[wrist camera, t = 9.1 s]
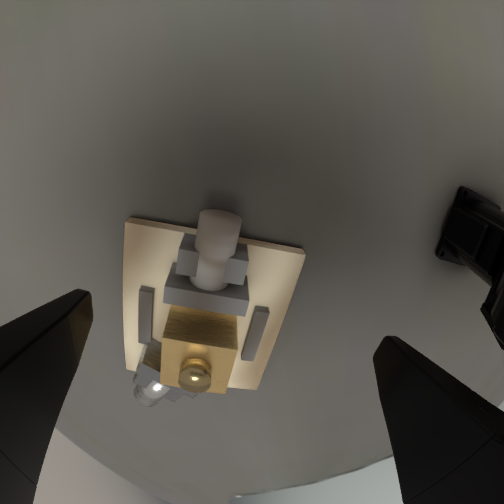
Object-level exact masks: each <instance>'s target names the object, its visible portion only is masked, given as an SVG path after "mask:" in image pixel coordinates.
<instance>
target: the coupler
mask: <svg viewBox="0 0 504 504" xmlns="http://www.w3.org/2000/svg"><path fill="white" fill-rule="evenodd" d="M237 352H238V337H237V316H236V315H230V314H223V313H217V312H211V311H205V310H199V309H193V308H188V307H182V306H177V305H171V307H170V310H169V314H168V317H167V321H166V325H165V329H164V332H163V336H162V349H161V371H160V384H163V385H168V386H173V387H179V388H183V389H184V390H186V391H188V392H192V393H201V392H212V393H220V394H225V393H226V389H227V386H228V382H229V379H230V376H231V372H232V369H233V365H234V362H235V359H236V355H237Z"/></svg>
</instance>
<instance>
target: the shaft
mask: <svg viewBox="0 0 504 504" xmlns="http://www.w3.org/2000/svg"><path fill="white" fill-rule="evenodd" d="M161 349H162V343H161V342H159V341H157V340H155V339H154V338H152V340H151V344H150V343H147V345H146V344H144V346H143V349H142V353H141V356H140V359H139V362H138V365H137V368H136V372H135V375H134V379H133V383H135V384H137V386H136V387H135V388H134V396H135V398H136V399H137V401H138V402H139V403H140V404H142V405H144V406H147V407H152V406H155V405H156V404H157V403H158V402H159V401H160V400H161V399H162V398H163V397H164V398H166V399H169V400H171V401H173V402H176V401H177V400H178V399H179V398H180V397H181V396H182V395H183V394H184V395H186V396H189V397H191V398H194V397H195V396H196V395H197V394H198V393H192V392H188V391H186V390H184V389H183V388H179V387H173V386H168V385H163V384H160V371H161Z"/></svg>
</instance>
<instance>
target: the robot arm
mask: <svg viewBox="0 0 504 504" xmlns="http://www.w3.org/2000/svg"><path fill="white" fill-rule="evenodd" d="M463 192H464V194H463ZM441 252H442V253H441ZM436 256H437V257H438V258H439V259H441V260H445V261H449V262H453V263H456V264H460V265H463V266H467V267H468V268H469V269H471V270H472V271H473V272H474V273H475V274H477V275H478V276H479V277H480V278H481V279H482V280H484V281H485V282H486V283H487V284H488V285H489V286H490V287H491V288H490V291H489V293H488V295H487V298H486V300H485V302H484V303H483V304H482V307H481V309H480V310H481V312H482V314H483V315H484V317H485V319H486V321H487V323H488V324H489V326H490V328H491V330H492V332H493V334H494V336H495V338H496V340H497V341H498V343H499V345H500V347H501V348H502V349H503V350H504V212H502V211H501V208H500V206H498V205H496V204H495V203H493V202H491V201H490V200H488V199H486V198H485V197H483V196H481V195H479V194H477V193H476V192H474V191H472V190H470V189H468V188H466V187H464V186H462V187H460V189H459V191H458V194H457V197H456V200H455V203H454V206H453V209H452V212H451V215H450V217H449V220H448V223H447V225H446V228H445V230H444V233H443V236H442V238H441V241H440V243H439V245H438V248H437V250H436ZM92 321H93V308H92V297H91V293H90V292H89V291H86V290H82V289H76V290H73V291H71V292H69V293H67V294H65V295H63V296H61V297H59V298H57V299H55V300H53V301H51V302H48V303H46V304H44V305H42V306H40V307H38V308H36V309H34V310H32V311H30V312H28V313H26V314H24V315H22V316H20V317H18V318H16V319H14V320H13V321H11V322H9V323H7V324H5V325H3V326H1V327H0V504H33V500H34V496H35V492H36V488H37V486H36V485H37V483H38V479H39V475H40V472H41V468H42V465H43V461H44V458H45V454H46V451H47V448H48V445H49V442H50V439H51V436H52V433H53V430H54V427H55V424H56V421H57V419H58V416H59V413H60V410H61V408H62V405H63V402H64V400H65V397H66V395H67V392H68V390H69V387H70V385H71V382H72V380H73V377H74V375H75V373H76V370H77V368H78V365H79V362H80V359H81V356H82V352H83V349H84V346H85V343H86V340H87V337H88V334H89V331H90V328H91V325H92ZM373 363H374V368H375V374H376V379H377V385H378V391H379V397H380V401H381V405H382V409H383V413H384V417H385V421H386V425H387V429H388V433H389V437H390V441H391V446H392V450H393V454H394V459H395V464H396V469H397V473H398V478H399V483H400V489H401V494H402V500H403V503H404V504H504V412H503V411H502V410H500V409H499V408H497V407H496V406H494V405H493V404H491V403H490V402H488V401H487V400H485V399H484V398H482V397H481V396H480V395H478V394H477V393H475V392H474V391H472V390H471V389H470V388H469V387H467V386H466V385H464V384H463V383H462V382H460V381H459V380H457V379H456V378H455V377H453V376H452V375H451V374H449V373H448V372H446V371H445V370H444V369H442V368H441V367H439V366H438V365H437V364H435V363H434V362H432V361H431V360H430V359H428V358H427V357H425V356H424V355H423V354H421V353H420V352H418V351H417V350H415V349H414V348H413V347H411V346H410V345H408V344H407V343H406V342H404V341H403V340H401V339H400V338H398V337H397V336H385V337H384V338H383V340H382V341H381V343H380V345H379V347H378V348H377V350H376V351H375V353H374V356H373Z"/></svg>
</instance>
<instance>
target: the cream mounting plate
mask: <svg viewBox="0 0 504 504" xmlns="http://www.w3.org/2000/svg"><path fill="white" fill-rule="evenodd" d="M241 224H242V219H241V218H240V217H239V216H238V215H236V214H233V213H231V212H228V211H224V210H218V209H205V210H202V211H201V212H200V215H199V221H198V227H197V229H194V228H188V227H183V226H177V225H172V224H166V223H161V222H155V221H149V220H144V219H138V218H132V217H130V218H129V219H128V220H127V221H126V222H125V233H124V254H123V323H124V344H125V358H126V369H127V370H132V371H136V368H137V365H138V362H139V359H140V356H141V353H142V349H143V346H144V344H146V345H147V343H150V344H151V340H152V338H154V339H155V340H157V341H159V342H161V343H162V336H163V332H164V329H165V325H166V321H167V317H168V314H169V310H170V307H171V305H177V306H182V307H188V308H193V309H199V310H205V311H211V312H217V313H223V314H230V315H236V316H237V337H238V352H237V355H236V359H235V362H234V365H233V369H232V372H231V376H230V379H229V382H228V386H227V387H232V388H241V389H252V390H257V387H258V385H259V382H260V380H261V377H262V375H263V372H264V370H265V367H266V365H267V362H268V360H269V357H270V354H271V352H272V349H273V347H274V344H275V341H276V339H277V336H278V333H279V331H280V328H281V325H282V323H283V320H284V317H285V314H286V312H287V309H288V306H289V303H290V300H291V298H292V295H293V292H294V289H295V286H296V283H297V280H298V278H299V275H300V272H301V269H302V266H303V263H304V260H305V257H306V254H305V253H304V251H303V249H299V248H294V247H289V246H284V245H279V244H274V243H268V242H263V241H258V240H253V239H247V238H242V237H239V233H240V228H241Z"/></svg>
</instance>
